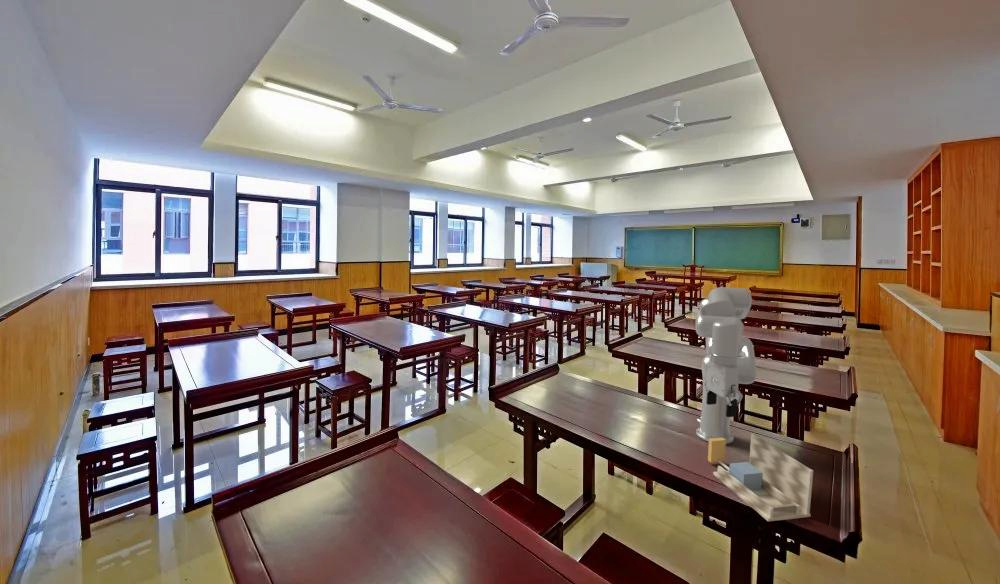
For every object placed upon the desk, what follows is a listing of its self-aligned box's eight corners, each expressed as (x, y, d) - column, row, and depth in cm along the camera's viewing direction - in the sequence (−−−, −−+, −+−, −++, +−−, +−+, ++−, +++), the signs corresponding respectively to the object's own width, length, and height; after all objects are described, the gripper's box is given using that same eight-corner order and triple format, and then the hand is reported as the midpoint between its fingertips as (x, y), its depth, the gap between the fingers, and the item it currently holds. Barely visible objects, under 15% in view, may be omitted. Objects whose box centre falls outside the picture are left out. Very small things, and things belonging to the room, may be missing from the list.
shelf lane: (713, 474, 129) (715, 435, 127) (748, 470, 130) (751, 432, 129) (768, 521, 107) (771, 475, 105) (810, 516, 109) (814, 471, 107)
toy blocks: (706, 460, 135) (707, 438, 134) (722, 458, 136) (724, 437, 135) (743, 490, 119) (744, 466, 118) (761, 488, 119) (763, 464, 118)
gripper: (696, 352, 138) (694, 400, 141) (731, 368, 121) (728, 422, 124) (717, 351, 139) (714, 399, 142) (754, 367, 122) (750, 421, 125)
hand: (720, 410), depth 133 cm, fingers open, 9 cm apart
